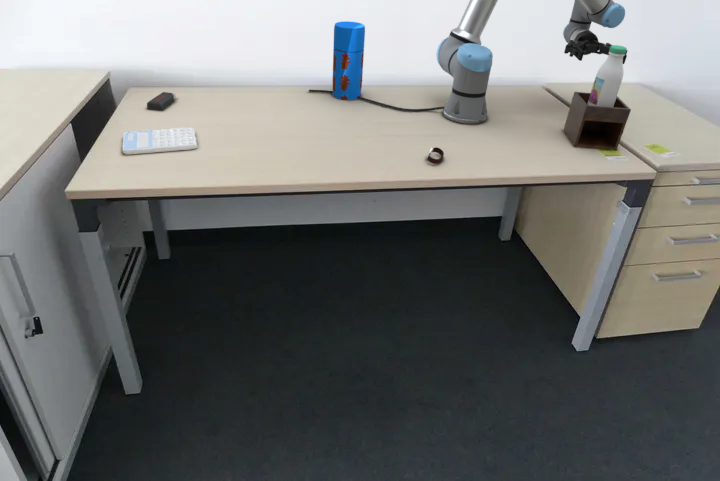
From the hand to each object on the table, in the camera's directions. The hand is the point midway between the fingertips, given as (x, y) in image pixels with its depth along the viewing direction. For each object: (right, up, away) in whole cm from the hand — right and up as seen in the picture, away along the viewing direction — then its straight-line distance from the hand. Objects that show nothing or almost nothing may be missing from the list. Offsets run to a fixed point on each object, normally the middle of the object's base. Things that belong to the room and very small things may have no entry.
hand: (603, 58), depth 170 cm
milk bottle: (-1, -17, +1) cm, 17 cm away
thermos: (-83, -4, +29) cm, 88 cm away
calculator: (-136, -30, -14) cm, 140 cm away
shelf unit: (-2, -25, +6) cm, 26 cm away
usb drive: (-145, -12, +11) cm, 146 cm away
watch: (-56, -35, -13) cm, 67 cm away
